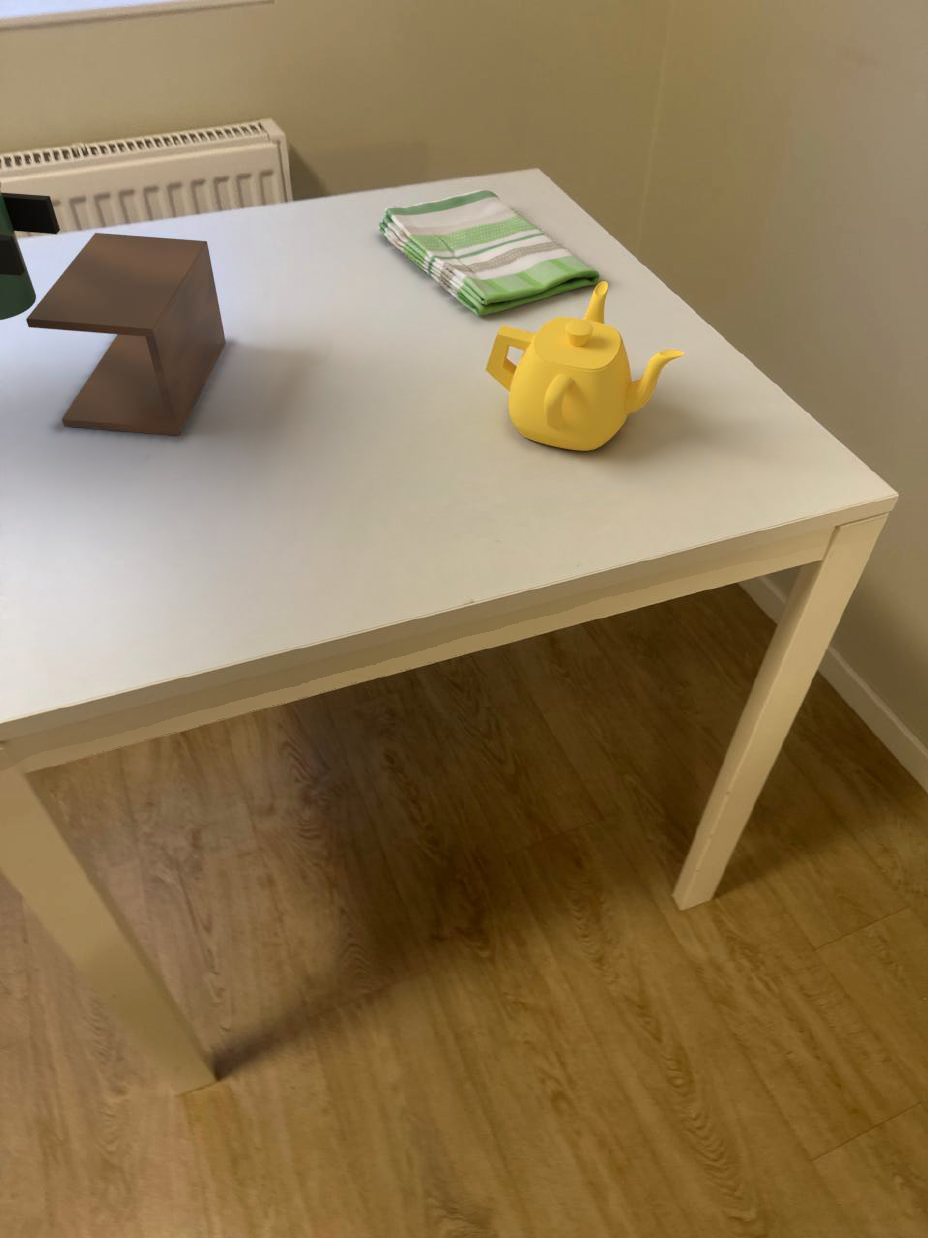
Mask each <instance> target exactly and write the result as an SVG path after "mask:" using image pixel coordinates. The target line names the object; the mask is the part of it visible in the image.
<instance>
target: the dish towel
mask: <svg viewBox="0 0 928 1238" xmlns="http://www.w3.org/2000/svg"><path fill="white" fill-rule="evenodd" d="M384 213H385V214H386V215H383V216H382V221H379V222H378V229H377V230H378V231H380V232H381V234H382V235H383V236H384V238H385V239H386V240H387V241H388V242H389V243H391V244H392V245H393V246H394V247H396V248H397V250H399V251H400V252H402V253H403V254H404V256H405V257H407V258H408V259H409V260H411V261H412V262H413V263H414V264H415V265H416V266H418V267H419V269H421V270H422V271H424V272H425V273H427V274H428V275H429V276H430V277H431V278H432V279H434V280H435V281H436V282H437V283H438V284H439V285H440V287H442V288H443V289H444V290H445V291H446V292H447V293H449V294H450V295H451V296H453V297H454V298H455V299H456V300H457V301H458V302H459V303H460V304H462V305H463V306H464V307H466V308H467V309H468V310H469V311H470V312H472V313H474V315H476V316H478V317H484V316H487V315H490V314H494V313H499V312H503V311H506V310H510V309H512V308H515V307H518V306H522V305H525V304H528V303H532V302H536V301H539V300H542V299H546V298H548V297H551V296H554V295H557V294H561V293H564V292H568V291H572V290H576V289H580V288H585V287H590V286H594V285H597V284H598V281H599V279H600V272H599V271H598V270H597V269H595V268H593V267H591V266H589V265H588V264H587V263H585V262H584V261H583V260H581V258H579V257H577V256H576V255H575V254H573V253H572V252H571V251H570V250H568V249H567V248H566V247H564V246H563V245H562V244H559V243H558V242H556V241H555V240H553V239H552V238H551V237H550V236H548V235H546V234H545V233H544V232H543V231H542V230H541V229H540V228H538V227H537V226H535V224H533V223H532V222H531V221H529V220H527V219H526V218H523V216H521V215H520V214H517V212H515V211H514V210H513V209H512V208H511V207H509V206H508V205H507V204H506V203H504V201H503V200H502V199H501V198H500V197H499V196H498V195H497V194H496V193H495V192H493V191H491V190H488V189H477V190H470V191H468V192H464V193H460V194H456V195H453V196H448V197H446V198H441V199H437V200H433V201H424V202H419V203H416V204H411V205H410V204H409V205H406V206H387V207H385V208H384Z"/></svg>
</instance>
